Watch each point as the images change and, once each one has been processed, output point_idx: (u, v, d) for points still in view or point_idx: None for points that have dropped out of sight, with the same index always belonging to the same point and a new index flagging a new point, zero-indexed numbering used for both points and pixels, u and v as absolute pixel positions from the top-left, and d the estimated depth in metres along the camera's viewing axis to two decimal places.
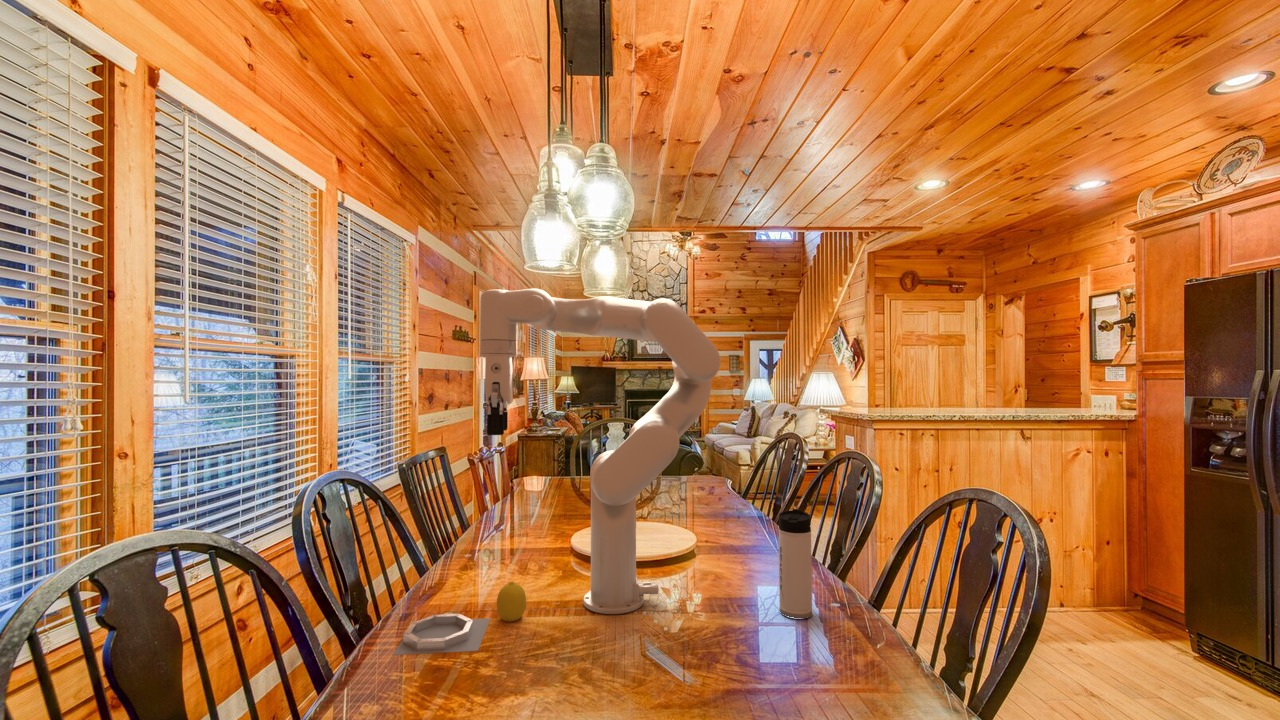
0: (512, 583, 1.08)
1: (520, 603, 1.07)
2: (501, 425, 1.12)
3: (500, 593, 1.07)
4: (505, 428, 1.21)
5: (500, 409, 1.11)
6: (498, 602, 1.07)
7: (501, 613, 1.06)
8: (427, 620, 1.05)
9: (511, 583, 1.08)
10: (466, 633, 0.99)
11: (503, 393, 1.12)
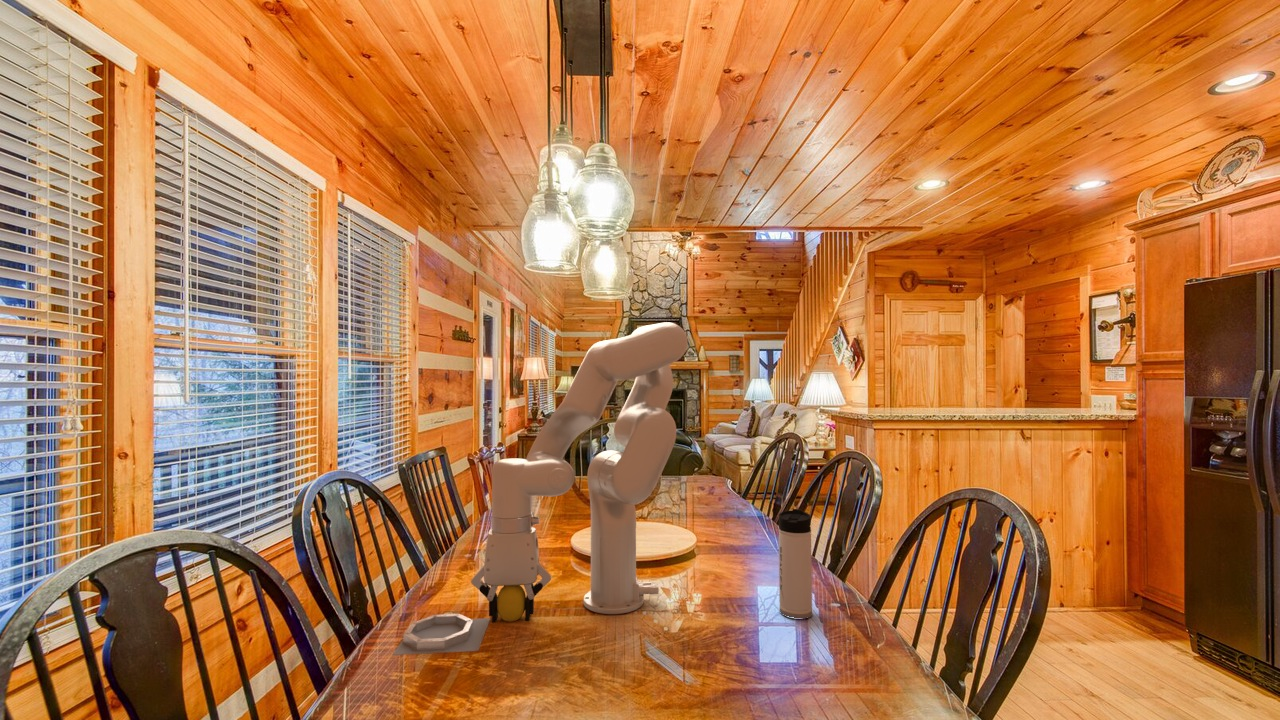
0: None
1: (520, 603, 1.07)
2: None
3: (500, 593, 1.07)
4: (497, 614, 1.09)
5: None
6: (498, 602, 1.07)
7: (501, 613, 1.06)
8: (427, 620, 1.05)
9: None
10: (466, 633, 0.99)
11: None
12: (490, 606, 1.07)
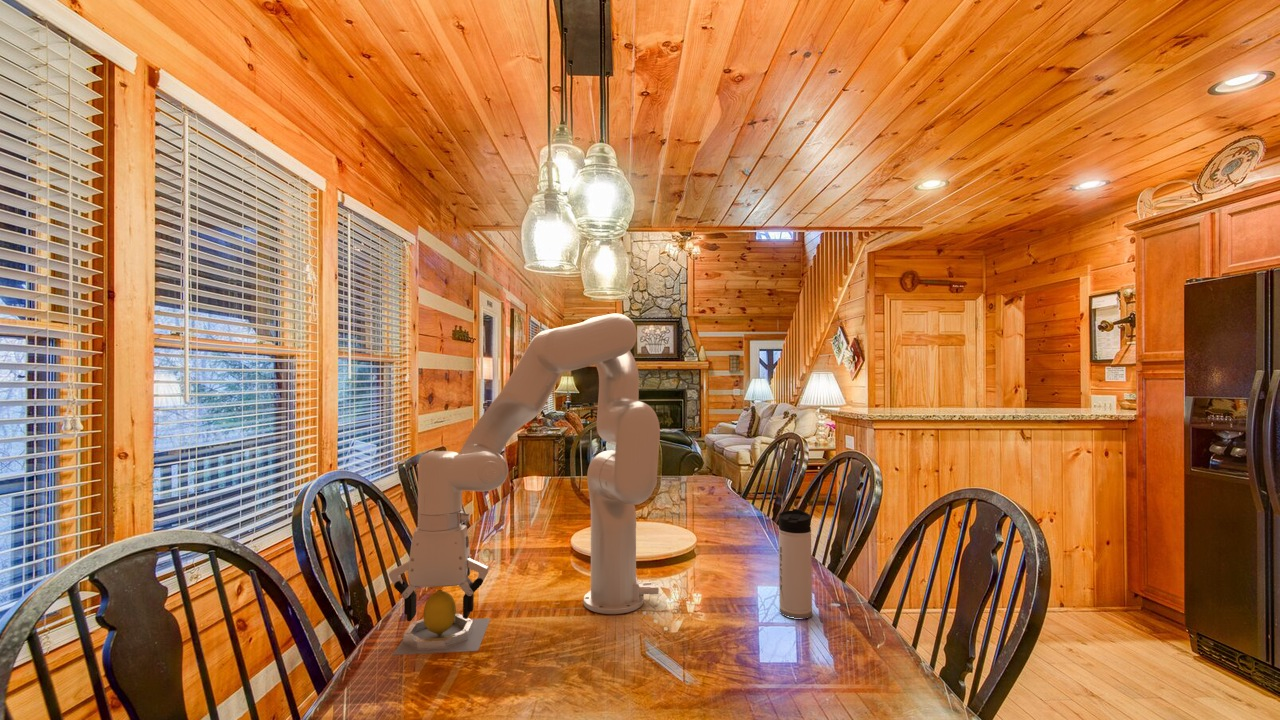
0: (440, 592, 1.01)
1: (448, 613, 1.00)
2: None
3: (427, 603, 1.00)
4: (415, 612, 1.02)
5: None
6: (424, 612, 1.00)
7: (427, 624, 0.99)
8: None
9: (439, 592, 1.01)
10: (466, 633, 0.99)
11: None
12: (406, 604, 1.00)
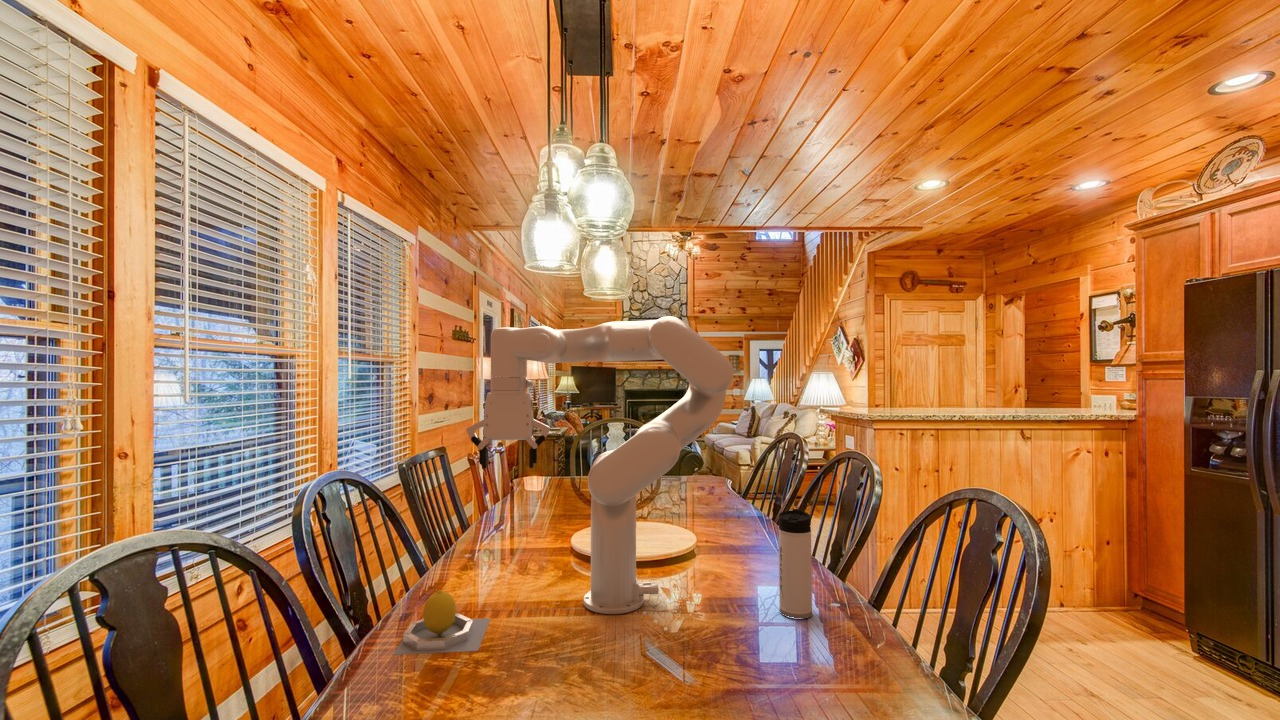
0: (440, 592, 1.01)
1: (448, 613, 1.00)
2: None
3: (427, 603, 1.00)
4: (487, 464, 1.20)
5: None
6: (424, 612, 1.00)
7: (426, 624, 0.99)
8: None
9: (439, 592, 1.01)
10: (466, 633, 0.99)
11: (533, 427, 1.21)
12: (481, 455, 1.18)
